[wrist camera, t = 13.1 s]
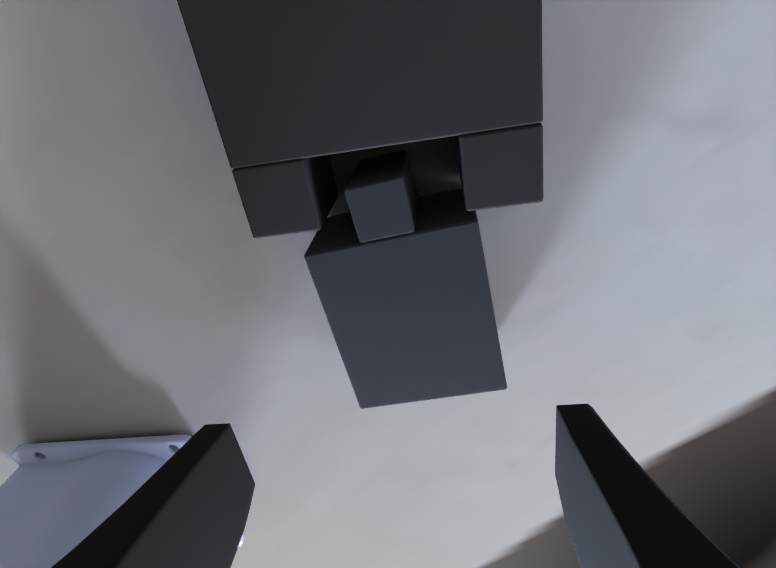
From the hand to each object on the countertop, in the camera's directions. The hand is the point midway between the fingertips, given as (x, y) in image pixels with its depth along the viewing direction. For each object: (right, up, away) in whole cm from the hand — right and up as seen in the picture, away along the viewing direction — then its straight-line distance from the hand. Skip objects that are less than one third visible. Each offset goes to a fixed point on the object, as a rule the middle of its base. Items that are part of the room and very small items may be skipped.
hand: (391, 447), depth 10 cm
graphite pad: (+1, +4, +7) cm, 8 cm away
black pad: (0, +10, +3) cm, 11 cm away
